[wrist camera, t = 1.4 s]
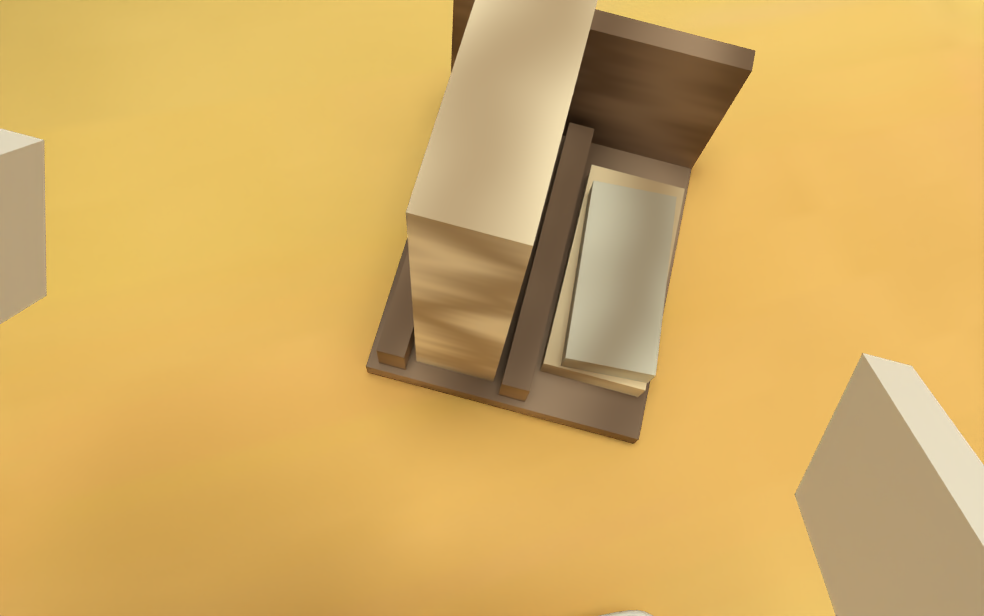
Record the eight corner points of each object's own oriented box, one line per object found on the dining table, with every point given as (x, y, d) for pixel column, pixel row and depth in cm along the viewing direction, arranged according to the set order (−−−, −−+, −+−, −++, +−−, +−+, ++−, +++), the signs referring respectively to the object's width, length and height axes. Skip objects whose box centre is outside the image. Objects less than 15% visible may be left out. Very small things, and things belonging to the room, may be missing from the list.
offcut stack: (539, 370, 36) (547, 355, 34) (586, 177, 39) (596, 150, 37) (638, 397, 36) (654, 383, 33) (677, 201, 39) (694, 175, 37)
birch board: (416, 361, 36) (405, 212, 22) (484, 133, 40) (513, -119, 26) (493, 381, 36) (533, 246, 22) (553, 151, 40) (621, -92, 26)
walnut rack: (367, 372, 36) (348, 306, 28) (457, 92, 42) (463, -35, 33) (633, 443, 36) (694, 398, 28) (690, 153, 41) (757, 40, 33)
